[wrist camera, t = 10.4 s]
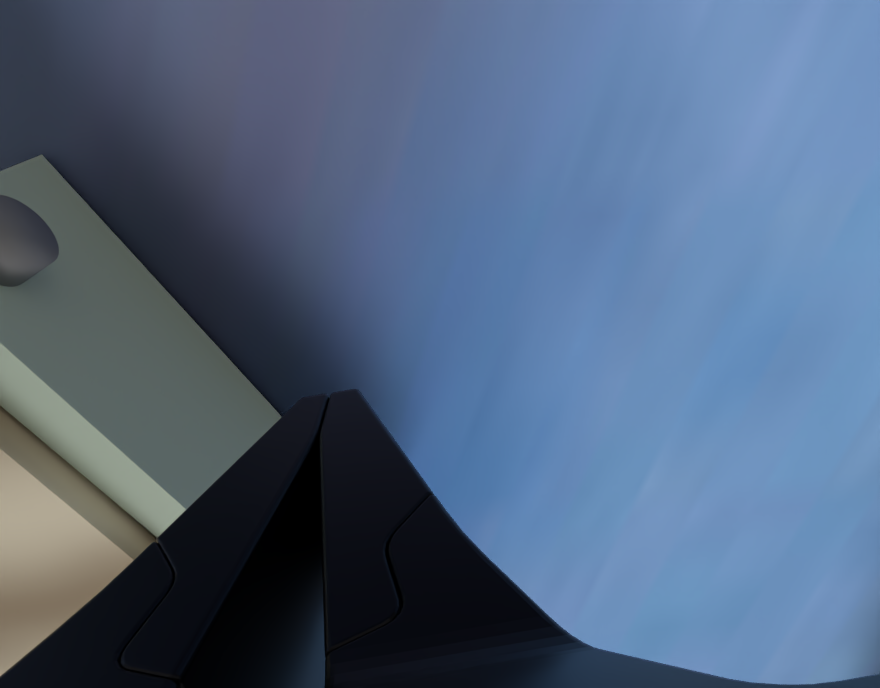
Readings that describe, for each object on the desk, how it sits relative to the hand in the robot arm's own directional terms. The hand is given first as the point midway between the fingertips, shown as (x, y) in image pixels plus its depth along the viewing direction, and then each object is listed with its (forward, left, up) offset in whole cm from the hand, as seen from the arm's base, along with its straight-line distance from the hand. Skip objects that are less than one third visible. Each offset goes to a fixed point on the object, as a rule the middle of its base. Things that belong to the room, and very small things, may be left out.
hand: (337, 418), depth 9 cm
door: (-3, +7, -12) cm, 14 cm away
